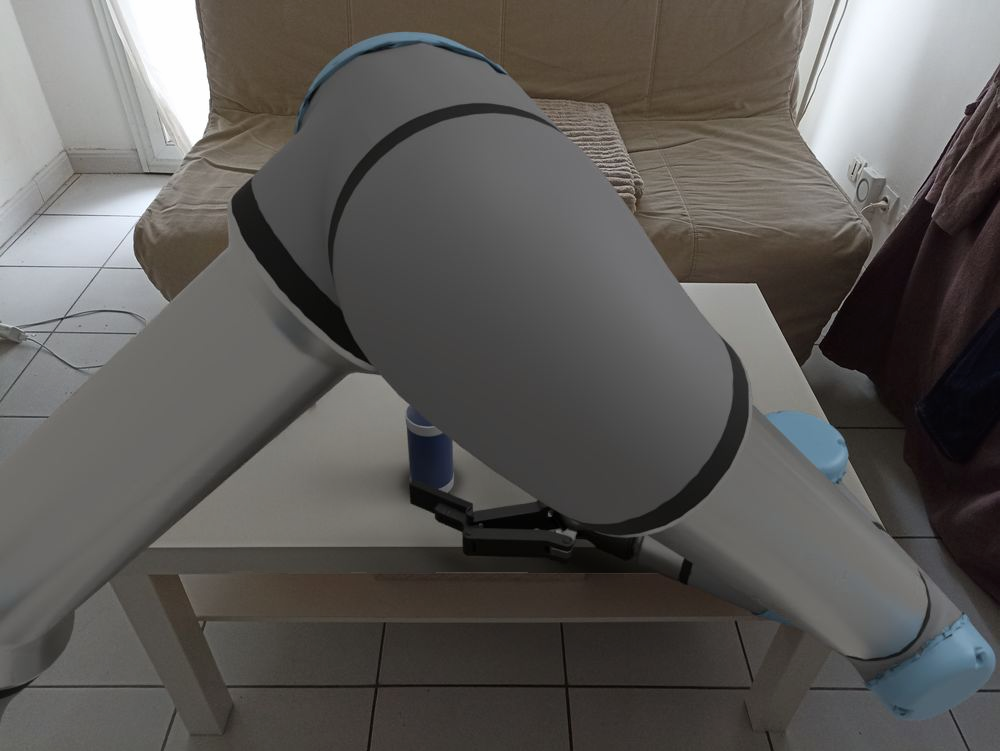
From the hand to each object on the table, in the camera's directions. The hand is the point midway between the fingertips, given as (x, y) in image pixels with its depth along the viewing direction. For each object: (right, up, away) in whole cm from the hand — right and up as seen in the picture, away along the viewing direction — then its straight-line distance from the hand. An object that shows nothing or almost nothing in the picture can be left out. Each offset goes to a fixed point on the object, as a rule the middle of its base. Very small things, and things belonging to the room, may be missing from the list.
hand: (447, 448), depth 77 cm
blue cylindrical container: (-2, -4, +4) cm, 6 cm away
